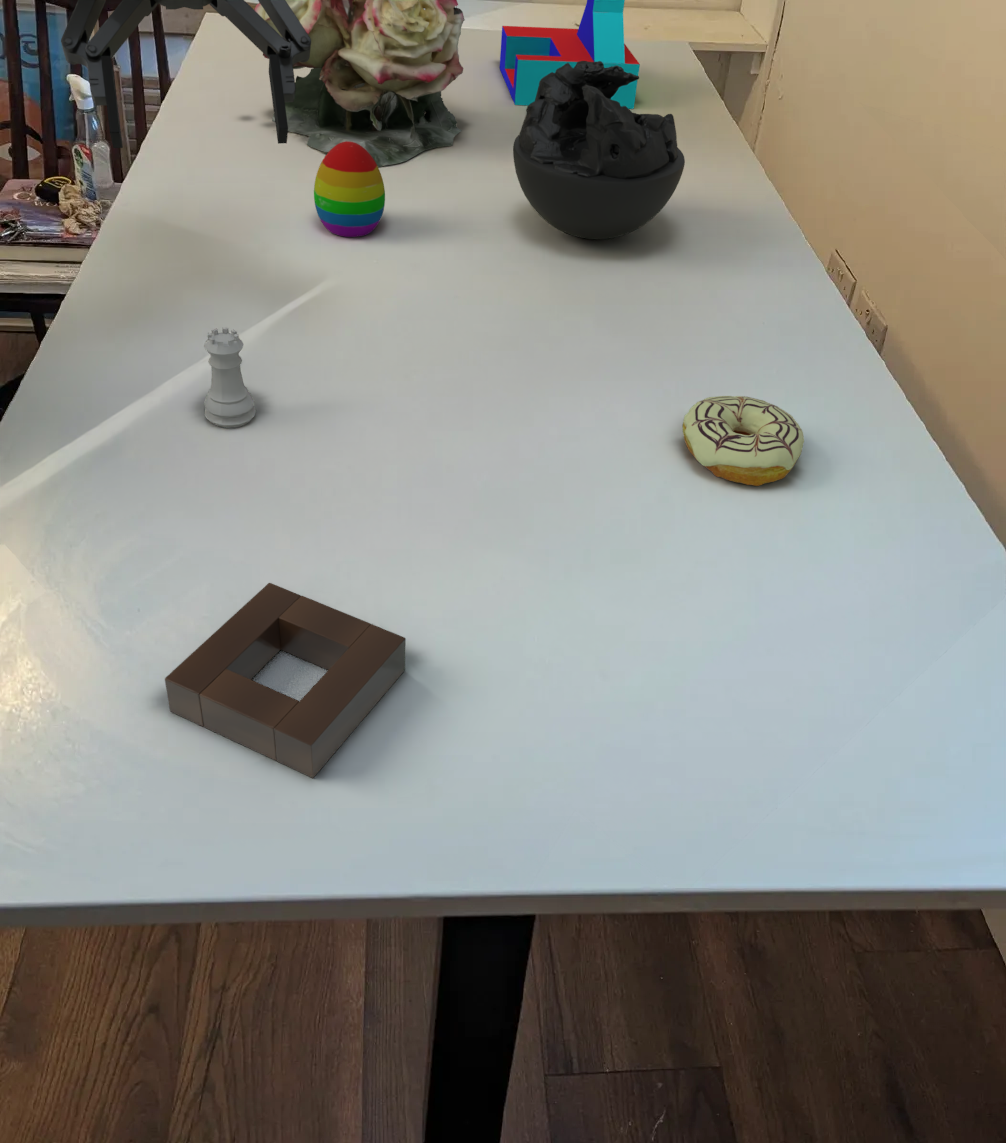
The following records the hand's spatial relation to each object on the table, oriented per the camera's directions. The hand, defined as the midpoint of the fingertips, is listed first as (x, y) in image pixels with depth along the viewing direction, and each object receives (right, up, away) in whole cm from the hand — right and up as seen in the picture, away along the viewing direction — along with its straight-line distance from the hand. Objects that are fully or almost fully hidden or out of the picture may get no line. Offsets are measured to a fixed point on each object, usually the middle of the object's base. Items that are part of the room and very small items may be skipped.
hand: (201, 138), depth 94 cm
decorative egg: (+7, +4, +39) cm, 40 cm away
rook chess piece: (+1, -23, +5) cm, 23 cm away
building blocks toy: (+35, +44, +90) cm, 106 cm away
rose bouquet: (+7, +25, +65) cm, 70 cm away
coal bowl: (+36, +5, +43) cm, 56 cm away
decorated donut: (+46, -26, +6) cm, 54 cm away
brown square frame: (+11, -44, -20) cm, 50 cm away
